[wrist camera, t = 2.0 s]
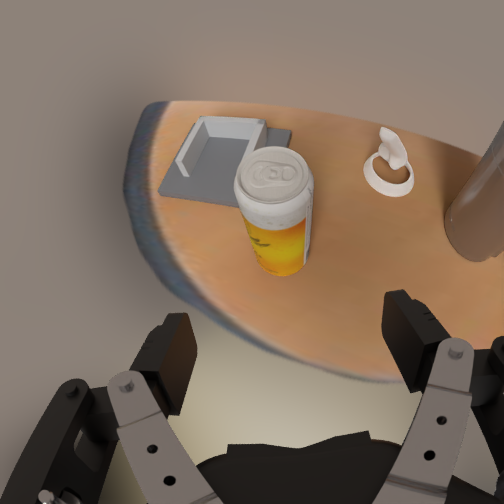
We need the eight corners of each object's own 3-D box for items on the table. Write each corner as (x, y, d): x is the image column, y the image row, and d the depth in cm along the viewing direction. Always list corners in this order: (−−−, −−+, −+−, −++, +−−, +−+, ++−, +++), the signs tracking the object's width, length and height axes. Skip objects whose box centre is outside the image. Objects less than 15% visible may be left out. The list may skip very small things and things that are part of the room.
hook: (331, 164, 32) (354, 113, 30) (363, 186, 41) (380, 147, 39) (388, 191, 28) (411, 134, 26) (405, 208, 37) (424, 166, 35)
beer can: (260, 229, 36) (238, 142, 22) (310, 232, 35) (315, 144, 21) (253, 276, 34) (223, 205, 20) (306, 280, 32) (313, 209, 19)
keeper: (291, 136, 42) (289, 113, 37) (268, 212, 37) (264, 191, 32) (196, 128, 45) (188, 107, 41) (160, 195, 40) (147, 176, 36)
